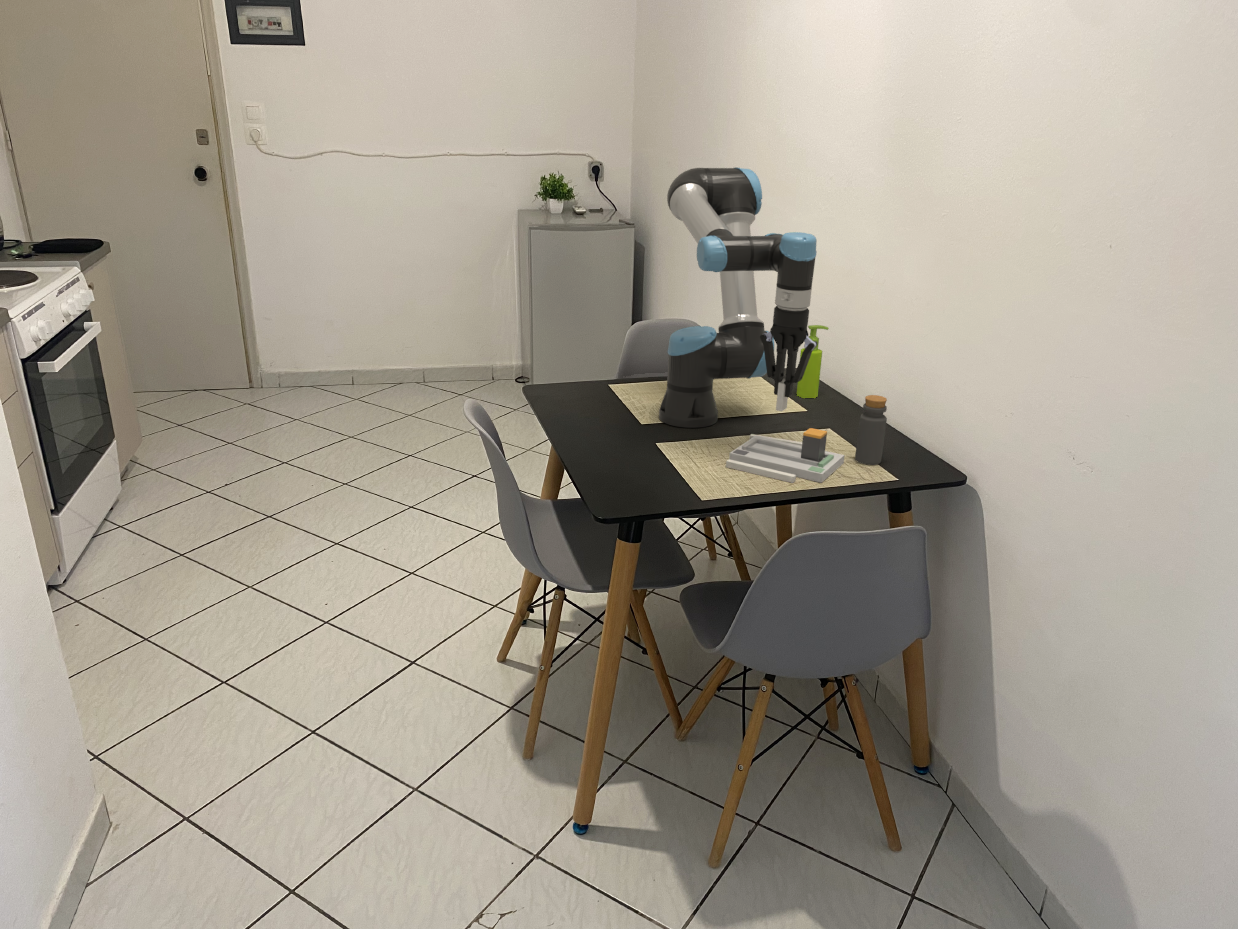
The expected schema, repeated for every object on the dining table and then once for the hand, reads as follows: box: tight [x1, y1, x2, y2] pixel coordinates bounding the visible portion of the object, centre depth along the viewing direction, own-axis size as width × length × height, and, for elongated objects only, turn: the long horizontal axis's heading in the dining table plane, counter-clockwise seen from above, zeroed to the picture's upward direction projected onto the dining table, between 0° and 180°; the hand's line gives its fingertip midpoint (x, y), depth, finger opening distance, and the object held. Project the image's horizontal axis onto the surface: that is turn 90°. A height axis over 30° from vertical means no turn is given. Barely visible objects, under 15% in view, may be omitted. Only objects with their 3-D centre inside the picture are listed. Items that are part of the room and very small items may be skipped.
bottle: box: [854, 394, 888, 466], centre depth 200 cm, size 6×6×15 cm
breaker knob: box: [801, 427, 828, 462], centre depth 196 cm, size 4×4×6 cm
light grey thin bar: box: [748, 433, 802, 446], centre depth 211 cm, size 14×1×1 cm, turn 65°
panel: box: [728, 436, 845, 483], centre depth 200 cm, size 22×14×3 cm, turn 57°
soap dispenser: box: [796, 324, 830, 399], centre depth 245 cm, size 6×7×20 cm
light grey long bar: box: [725, 458, 797, 484], centre depth 194 cm, size 16×1×1 cm, turn 57°
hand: (781, 409), depth 201 cm, fingers closed
